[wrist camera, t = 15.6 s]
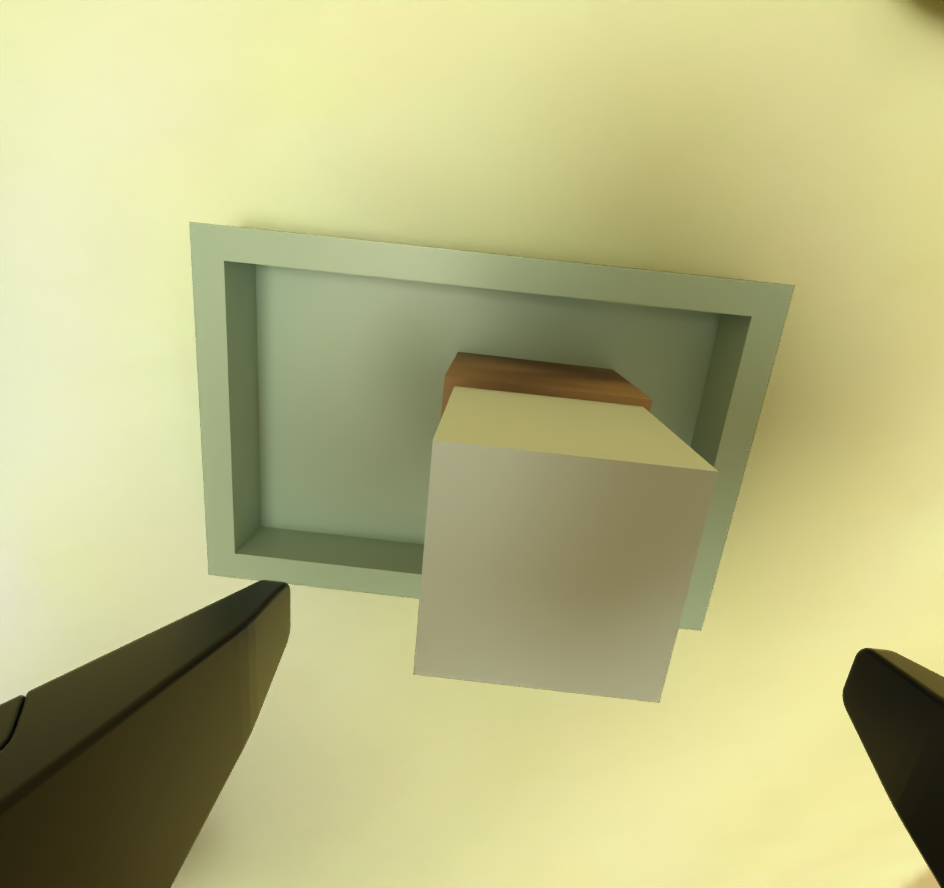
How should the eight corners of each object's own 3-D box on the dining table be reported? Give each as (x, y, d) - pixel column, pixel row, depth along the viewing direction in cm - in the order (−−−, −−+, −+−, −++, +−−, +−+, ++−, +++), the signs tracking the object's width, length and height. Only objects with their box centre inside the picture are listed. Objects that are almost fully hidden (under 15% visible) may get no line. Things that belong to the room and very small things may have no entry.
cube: (608, 572, 15) (659, 703, 11) (439, 553, 16) (413, 674, 11) (642, 406, 14) (718, 471, 9) (454, 385, 14) (433, 439, 9)
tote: (674, 584, 22) (701, 630, 19) (245, 537, 22) (208, 574, 19) (748, 284, 18) (794, 285, 16) (236, 231, 19) (189, 222, 16)
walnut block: (612, 369, 19) (652, 399, 14) (586, 511, 20) (613, 582, 16) (457, 351, 19) (444, 375, 14) (443, 494, 20) (427, 560, 16)
